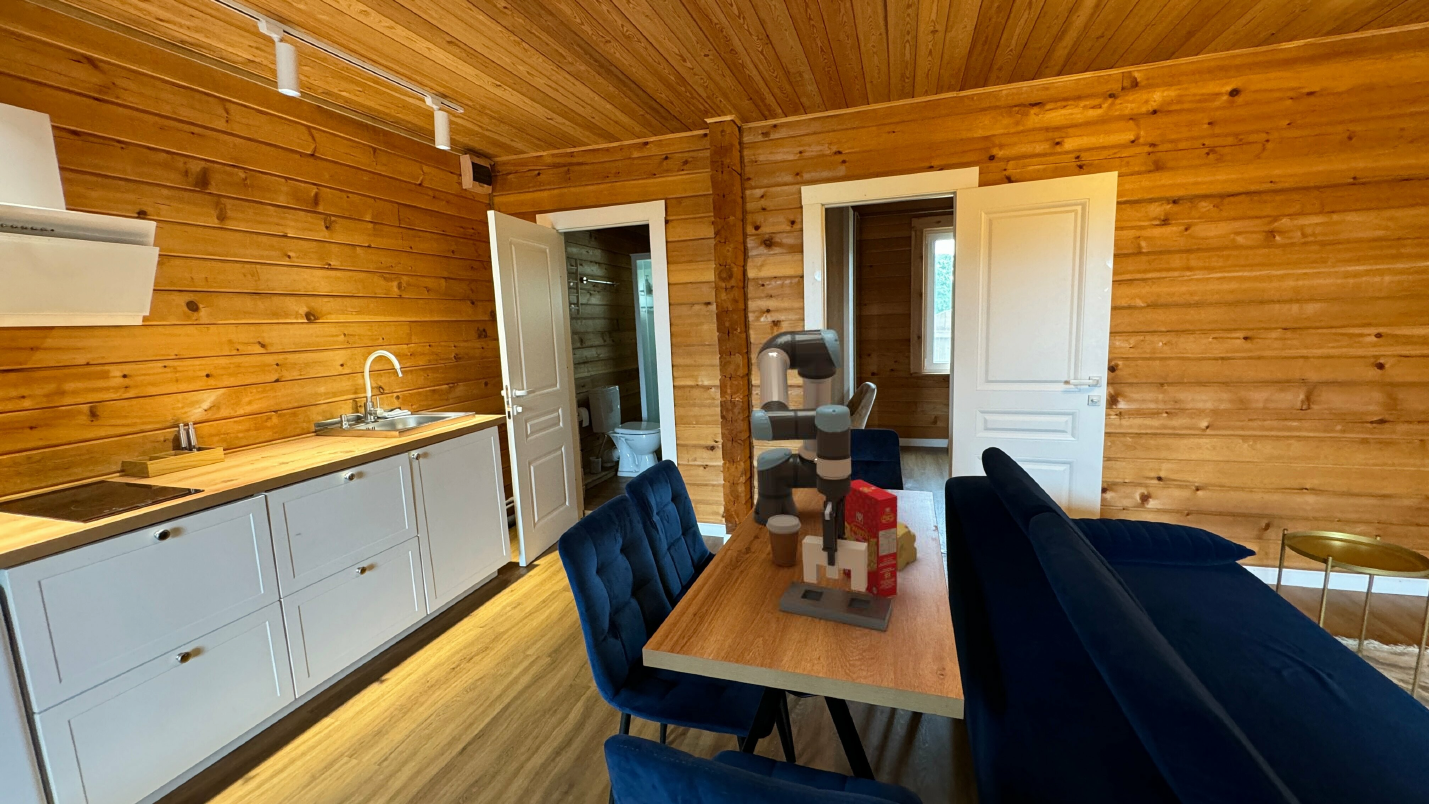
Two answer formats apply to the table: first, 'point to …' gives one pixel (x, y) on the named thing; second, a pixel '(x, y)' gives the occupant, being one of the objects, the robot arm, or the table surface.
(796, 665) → the table surface
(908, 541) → the cheese
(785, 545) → the disposable coffee cup
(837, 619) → the grey flat rectangular block
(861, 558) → the white block
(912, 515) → the table surface
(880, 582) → the food packaging
